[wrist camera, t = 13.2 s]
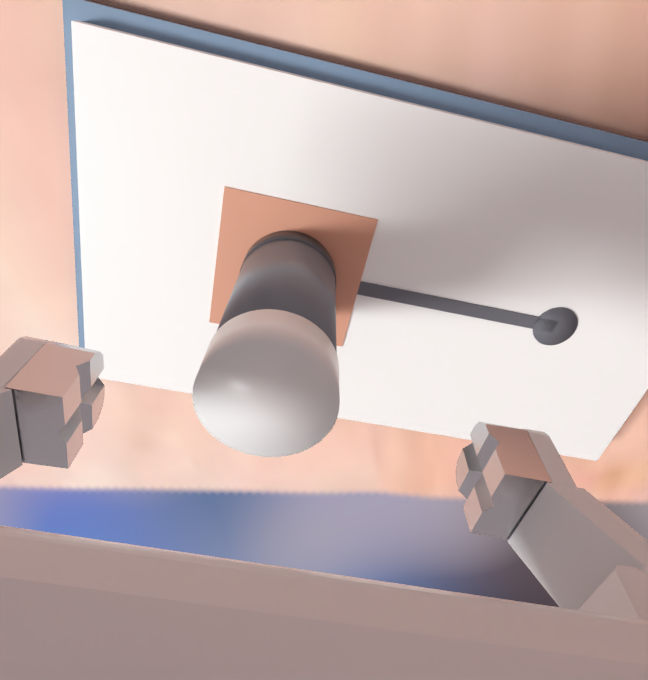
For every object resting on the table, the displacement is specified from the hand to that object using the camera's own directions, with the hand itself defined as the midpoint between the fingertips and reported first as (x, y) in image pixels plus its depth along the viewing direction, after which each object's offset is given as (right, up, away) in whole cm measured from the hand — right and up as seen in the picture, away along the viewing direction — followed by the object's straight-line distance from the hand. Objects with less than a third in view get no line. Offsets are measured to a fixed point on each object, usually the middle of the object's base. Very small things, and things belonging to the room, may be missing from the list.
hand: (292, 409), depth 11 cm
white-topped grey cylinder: (-1, +4, +6) cm, 7 cm away
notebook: (+3, +4, +8) cm, 9 cm away
